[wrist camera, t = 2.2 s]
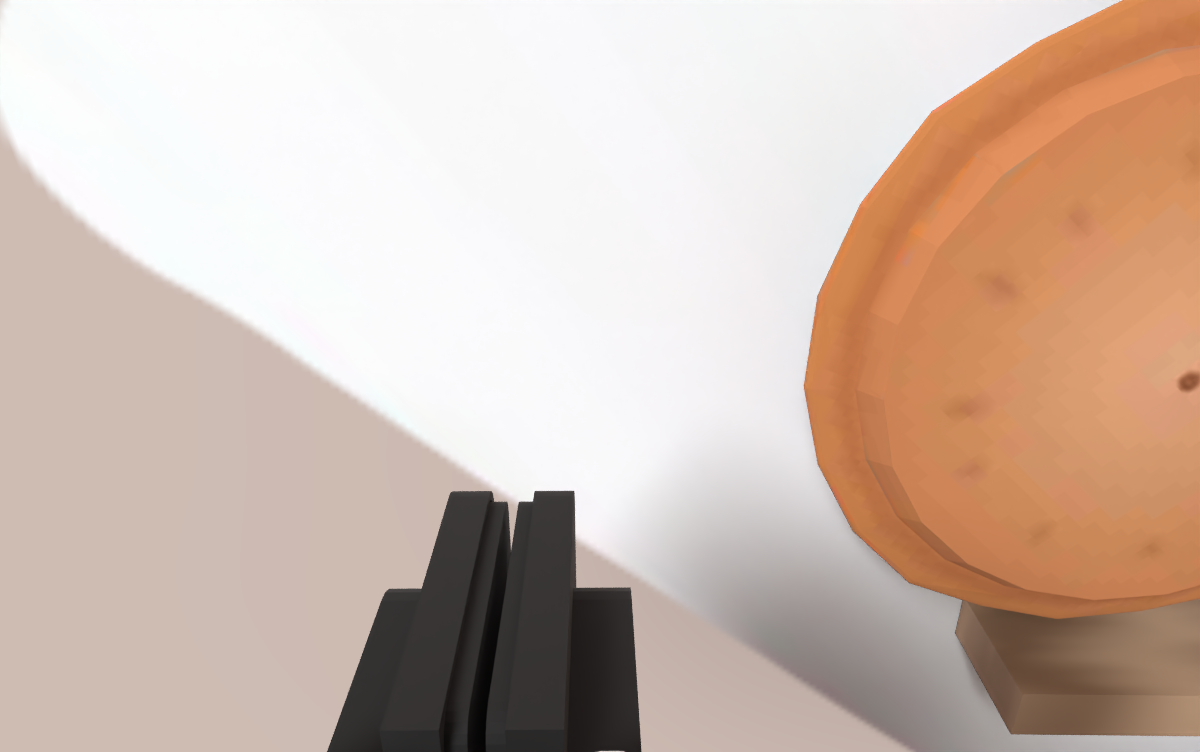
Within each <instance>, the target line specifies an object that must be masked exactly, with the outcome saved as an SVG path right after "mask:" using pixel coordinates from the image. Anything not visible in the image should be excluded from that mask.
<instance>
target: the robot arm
mask: <svg viewBox="0 0 1200 752" xmlns="http://www.w3.org/2000/svg"><path fill="white" fill-rule="evenodd" d="M509 529H510V528H509V511H508V503H507V502H494V498H493V493H492V491H475V492H474V491H470V492H469V491H462V492H461V491H458V492H455V491H454V492H451V493H450V496H449V499H448V502H447V505H446V509H445V512H444V516H443V519H442V522H441V526H440V529H439V532H438V536H437V539H436V543H435V546H434V549H433V553H432V556H431V559H430V563H429V566H428V569H427V573H426V576H425V580H424V583H423V586H422V589H389V590H387V591H386V592H385V594H384V596H383V599H382V601H381V603H380V606H379V609H378V612H377V615H376V617H375V620H374V623H373V626H372V628H371V631H370V634H369V637H368V640H367V642H366V645H365V648H364V651H363V653H362V656H361V659H360V662H359V665H358V667H357V670H356V673H355V676H354V679H353V681H352V684H351V687H350V690H349V692H348V695H347V698H346V701H345V704H344V706H343V709H342V712H341V715H340V718H339V720H338V723H337V726H336V729H335V732H334V734H333V737H332V740H331V743H330V745H329V748H328V751H327V752H641V739H640V723H639V708H638V691H637V677H636V660H635V644H634V629H633V613H632V599H631V589H630V588H576V554H575V553H576V550H575V496H574V491H535V493H534V499H533V502H519V504H518V510H517V518H516V524H515V530H514V537H513V543H512V550H511V546H510V530H509Z"/></svg>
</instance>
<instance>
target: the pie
mask: <svg viewBox="0 0 1200 752" xmlns="http://www.w3.org/2000/svg"><path fill="white" fill-rule="evenodd" d="M804 390H805V396H806V401H807V407H808V412H809V418H810V424H811V429H812V435H813V440H814V446H815V451H816V457H817V462H818V465H819V467H820V469H821V471H822V473H823V475H824V477H825V479H826V481H827V483H828V485H829V487H830V488H831V490H832V492H833V494H834V496H835V498H836V500H837V502H838V504H839V506H840V508H841V509H842V511H843V513H844V515H845V517H846V519H847V521H848V523H849V525H850V527H851V529H852V530H853V531H854V532H855V533H856V534H857V535H858V536H859V537H860V538H861V539H862V540H863V541H864V542H866V543H867V544H868V545H869V546H870V547H871V548H872V549H873V550H874V551H875V552H876V553H877V554H878V555H880V556H881V557H882V558H883V559H884V560H885V561H886V562H887V563H888V564H889V565H890V566H891V567H893V568H894V569H895V570H896V571H897V572H898V573H899V574H900V575H901V576H902V577H903V578H904V579H905V580H907V581H908V582H909V583H911V584H914V585H917V586H921V587H924V588H927V589H930V590H933V591H936V592H939V593H943V594H946V595H949V596H952V597H955V598H958V599H961V600H965V601H968V602H971V603H974V604H977V605H980V606H985V607H991V608H997V609H1002V610H1008V611H1014V612H1020V613H1025V614H1031V615H1037V616H1042V617H1048V618H1054V619H1063V618H1073V617H1084V616H1094V615H1105V614H1115V613H1125V612H1136V611H1144V610H1148V609H1153V608H1158V607H1163V606H1168V605H1172V604H1177V603H1182V602H1187V601H1191V600H1196V599H1200V0H1122V1H1120V2H1118V3H1116V4H1114V5H1112V6H1110V7H1108V8H1106V9H1104V10H1102V11H1100V12H1098V13H1096V14H1094V15H1092V16H1090V17H1088V18H1085V19H1083V20H1081V21H1079V22H1077V23H1075V24H1073V25H1071V26H1069V27H1067V28H1065V29H1063V30H1061V31H1059V32H1057V33H1055V34H1053V35H1051V36H1049V37H1047V38H1045V39H1043V40H1040V41H1038V42H1036V43H1035V44H1033V45H1032V46H1030V47H1029V48H1027V49H1026V50H1024V51H1023V52H1021V53H1020V54H1018V55H1017V56H1015V57H1014V58H1012V59H1011V60H1009V61H1008V62H1006V63H1005V64H1003V65H1001V66H1000V67H998V68H997V69H995V70H994V71H992V72H991V73H989V74H988V75H986V76H985V77H983V78H982V79H980V80H979V81H977V82H976V83H974V84H973V85H971V86H970V87H968V88H967V89H965V90H964V91H962V92H961V93H959V94H958V95H956V96H954V97H953V98H951V99H950V100H948V101H947V102H945V103H944V104H942V105H941V106H939V107H938V108H936V109H935V110H933V111H932V112H931V113H930V115H929V116H928V117H927V118H926V120H925V121H924V122H923V124H922V125H921V126H920V127H919V129H918V130H917V131H916V133H915V134H914V135H913V137H912V138H911V139H910V140H909V142H908V143H907V144H906V146H905V147H904V148H903V149H902V151H901V152H900V153H899V155H898V156H897V157H896V159H895V160H894V161H893V162H892V164H891V165H890V166H889V168H888V169H887V170H886V171H885V173H884V174H883V175H882V177H881V178H880V179H879V181H878V182H877V183H876V184H875V186H874V187H873V188H872V190H871V191H870V192H869V193H868V195H867V196H866V197H865V199H864V200H863V201H862V203H861V204H860V206H859V208H858V210H857V212H856V214H855V217H854V219H853V221H852V223H851V225H850V227H849V229H848V232H847V234H846V236H845V238H844V240H843V242H842V244H841V247H840V249H839V251H838V253H837V255H836V257H835V259H834V262H833V264H832V266H831V268H830V270H829V272H828V274H827V277H826V279H825V281H824V283H823V285H822V287H821V289H820V292H819V294H818V296H817V303H816V309H815V316H814V323H813V329H812V336H811V342H810V349H809V356H808V362H807V369H806V375H805V382H804Z"/></svg>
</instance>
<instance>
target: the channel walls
mask: <svg viewBox="0 0 1200 752" xmlns="http://www.w3.org/2000/svg"><path fill="white" fill-rule="evenodd" d="M955 634H956V635H957V637H958V639H959V641H960V643H961V644H962V646H963V648H964V650H965V652H966V653H967V655H968V657H969V659H970V661H971V663H972V664H973V666H974V668H975V670H976V672H977V673H978V675H979V677H980V679H981V681H982V683H983V684H984V686H985V688H986V690H987V692H988V693H989V695H990V697H991V699H992V701H993V703H994V704H995V706H996V708H997V710H998V712H999V713H1000V715H1001V717H1002V719H1003V721H1004V722H1005V724H1006V726H1007V728H1008V730H1009V732H1010V733H1011V734H1037V735H1140V736H1200V599H1196V600H1191V601H1187V602H1182V603H1177V604H1172V605H1168V606H1163V607H1158V608H1153V609H1148V610H1144V611H1136V612H1125V613H1115V614H1105V615H1094V616H1084V617H1073V618H1063V619H1054V618H1048V617H1042V616H1037V615H1031V614H1025V613H1020V612H1014V611H1008V610H1002V609H997V608H991V607H985V606H980V605H977V604H974V603H971V602H968V601H965V600H963V602H962V606H961V610H960V615H959V619H958V623H957V627H956V632H955Z"/></svg>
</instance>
